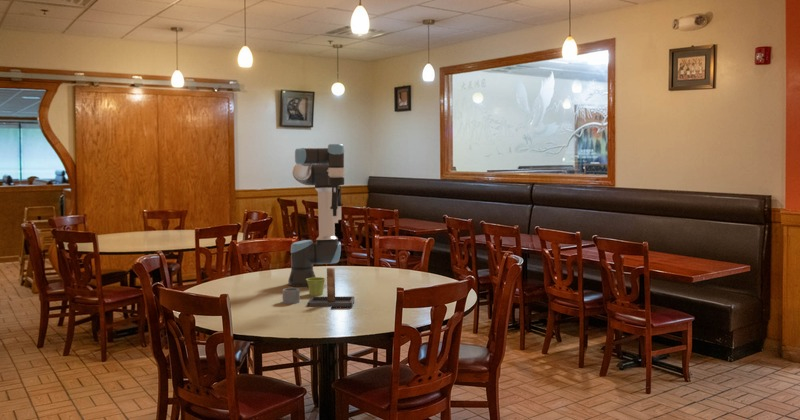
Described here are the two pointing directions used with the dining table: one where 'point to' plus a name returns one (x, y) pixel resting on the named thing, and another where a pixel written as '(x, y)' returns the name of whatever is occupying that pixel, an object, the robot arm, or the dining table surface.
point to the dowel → (330, 285)
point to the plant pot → (316, 285)
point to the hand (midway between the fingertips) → (336, 221)
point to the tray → (339, 302)
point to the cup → (291, 295)
